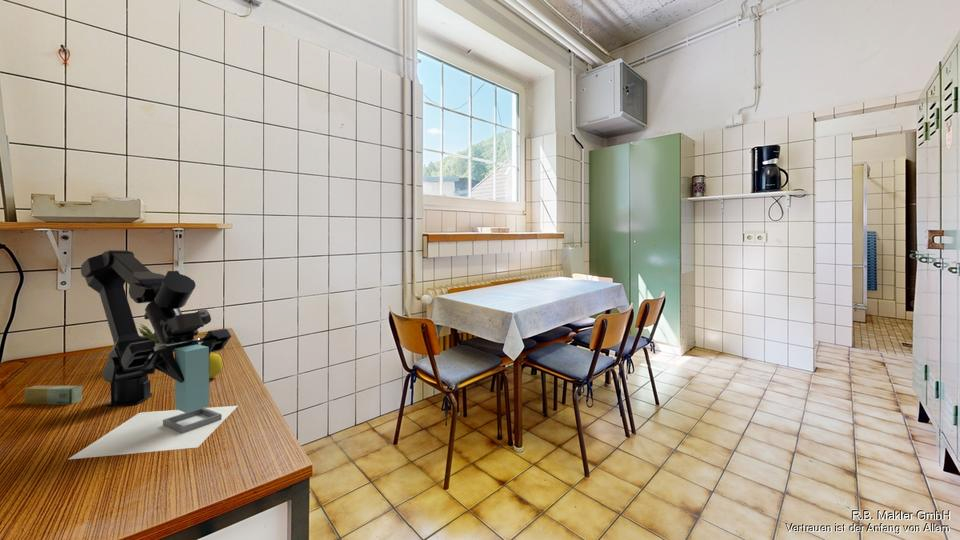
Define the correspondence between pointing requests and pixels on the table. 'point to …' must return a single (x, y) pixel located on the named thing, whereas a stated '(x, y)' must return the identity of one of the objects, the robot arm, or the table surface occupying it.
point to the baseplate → (152, 434)
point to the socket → (182, 429)
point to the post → (192, 378)
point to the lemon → (214, 364)
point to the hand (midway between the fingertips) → (195, 378)
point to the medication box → (53, 395)
